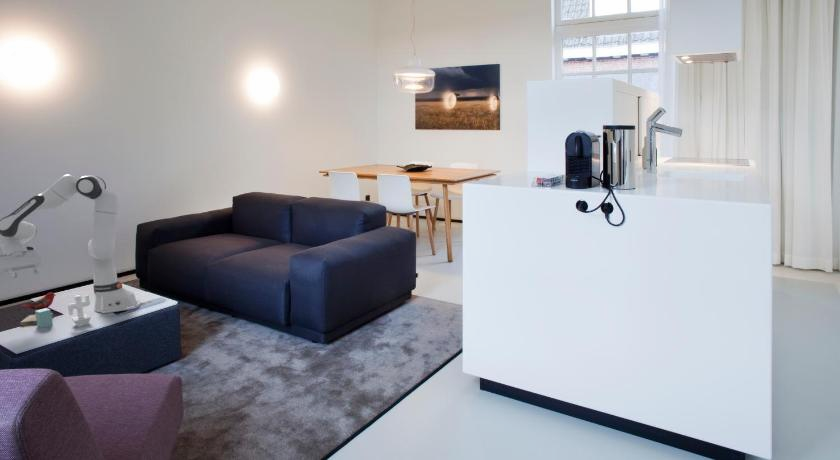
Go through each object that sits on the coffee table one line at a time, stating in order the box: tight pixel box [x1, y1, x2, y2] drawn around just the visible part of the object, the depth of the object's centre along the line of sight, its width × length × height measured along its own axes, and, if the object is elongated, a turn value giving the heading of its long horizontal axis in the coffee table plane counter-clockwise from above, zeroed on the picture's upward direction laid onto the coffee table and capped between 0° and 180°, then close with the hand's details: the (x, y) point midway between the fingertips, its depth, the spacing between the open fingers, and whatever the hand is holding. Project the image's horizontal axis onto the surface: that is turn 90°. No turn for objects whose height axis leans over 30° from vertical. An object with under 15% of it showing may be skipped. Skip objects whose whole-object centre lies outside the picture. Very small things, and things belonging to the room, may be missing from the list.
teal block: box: [34, 307, 54, 329], centre depth 280 cm, size 5×5×8 cm
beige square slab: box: [20, 312, 55, 327], centre depth 287 cm, size 11×11×2 cm
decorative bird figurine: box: [18, 291, 56, 311], centre depth 300 cm, size 3×18×10 cm, turn 136°
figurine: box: [67, 294, 92, 328], centre depth 279 cm, size 7×9×15 cm
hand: (26, 274), depth 283 cm, fingers open, 8 cm apart
